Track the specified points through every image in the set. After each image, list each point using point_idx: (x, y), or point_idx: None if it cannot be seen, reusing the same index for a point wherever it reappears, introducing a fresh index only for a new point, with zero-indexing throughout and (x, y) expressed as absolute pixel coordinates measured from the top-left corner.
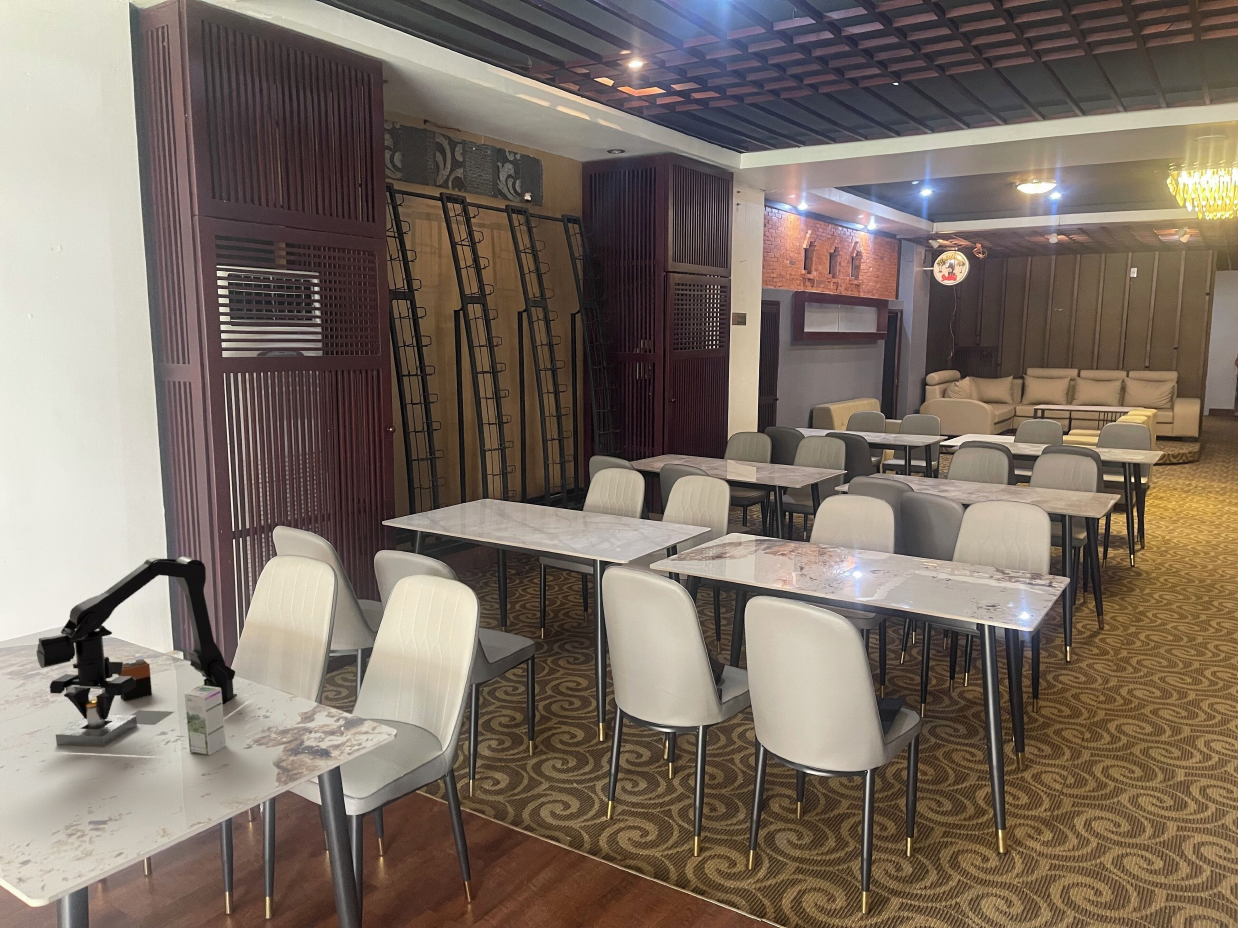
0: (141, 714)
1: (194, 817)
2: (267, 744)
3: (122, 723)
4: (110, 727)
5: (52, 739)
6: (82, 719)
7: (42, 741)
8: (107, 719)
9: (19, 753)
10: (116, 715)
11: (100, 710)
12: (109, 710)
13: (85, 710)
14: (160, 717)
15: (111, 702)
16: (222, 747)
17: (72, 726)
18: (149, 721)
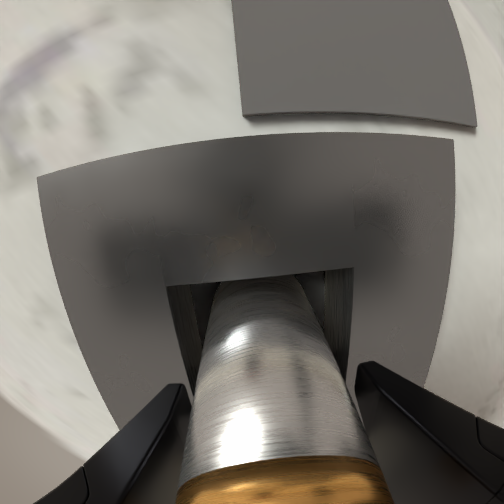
0: None
1: None
2: None
3: (441, 289)
4: (399, 361)
5: (64, 364)
6: (66, 291)
7: (52, 380)
8: (276, 250)
9: (91, 450)
10: (294, 150)
11: (392, 483)
12: (423, 391)
13: (179, 473)
14: (440, 33)
15: (493, 437)
16: None
17: (118, 394)
18: (431, 81)
